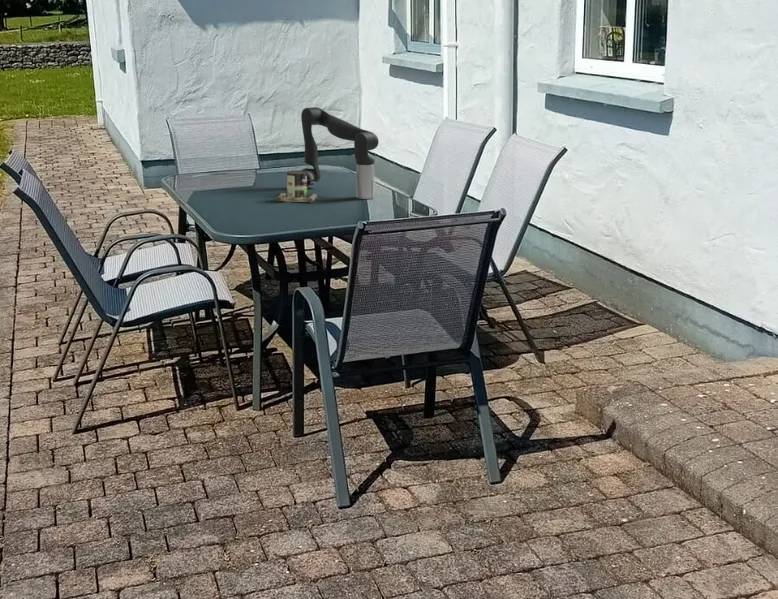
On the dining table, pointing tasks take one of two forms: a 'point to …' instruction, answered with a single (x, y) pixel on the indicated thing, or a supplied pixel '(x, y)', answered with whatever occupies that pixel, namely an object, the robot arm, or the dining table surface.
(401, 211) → the dining table surface
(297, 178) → the coffee can
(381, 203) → the dining table surface
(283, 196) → the dock bay
